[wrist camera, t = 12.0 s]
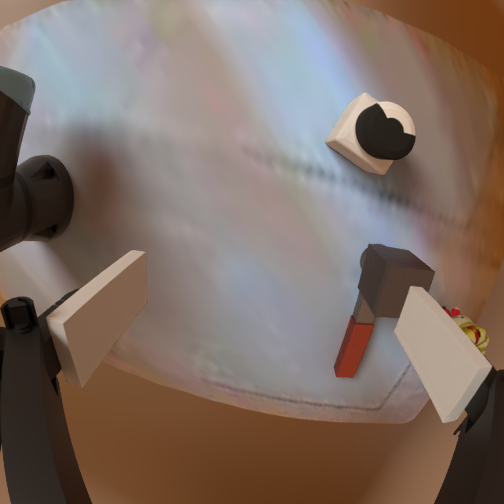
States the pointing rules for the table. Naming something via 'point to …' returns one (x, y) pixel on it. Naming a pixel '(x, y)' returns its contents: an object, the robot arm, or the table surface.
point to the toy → (469, 328)
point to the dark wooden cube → (391, 279)
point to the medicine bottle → (373, 134)
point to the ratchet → (355, 335)
